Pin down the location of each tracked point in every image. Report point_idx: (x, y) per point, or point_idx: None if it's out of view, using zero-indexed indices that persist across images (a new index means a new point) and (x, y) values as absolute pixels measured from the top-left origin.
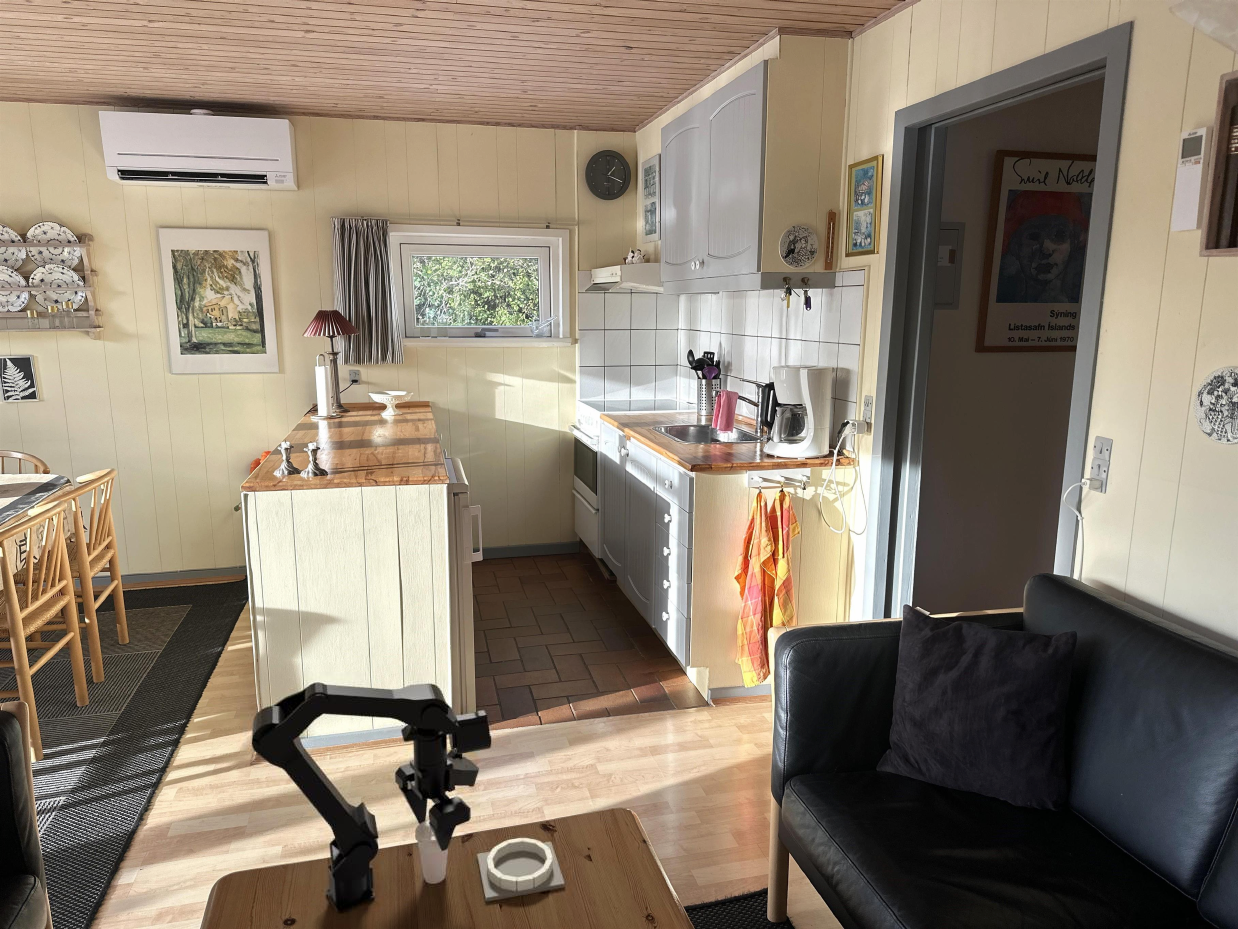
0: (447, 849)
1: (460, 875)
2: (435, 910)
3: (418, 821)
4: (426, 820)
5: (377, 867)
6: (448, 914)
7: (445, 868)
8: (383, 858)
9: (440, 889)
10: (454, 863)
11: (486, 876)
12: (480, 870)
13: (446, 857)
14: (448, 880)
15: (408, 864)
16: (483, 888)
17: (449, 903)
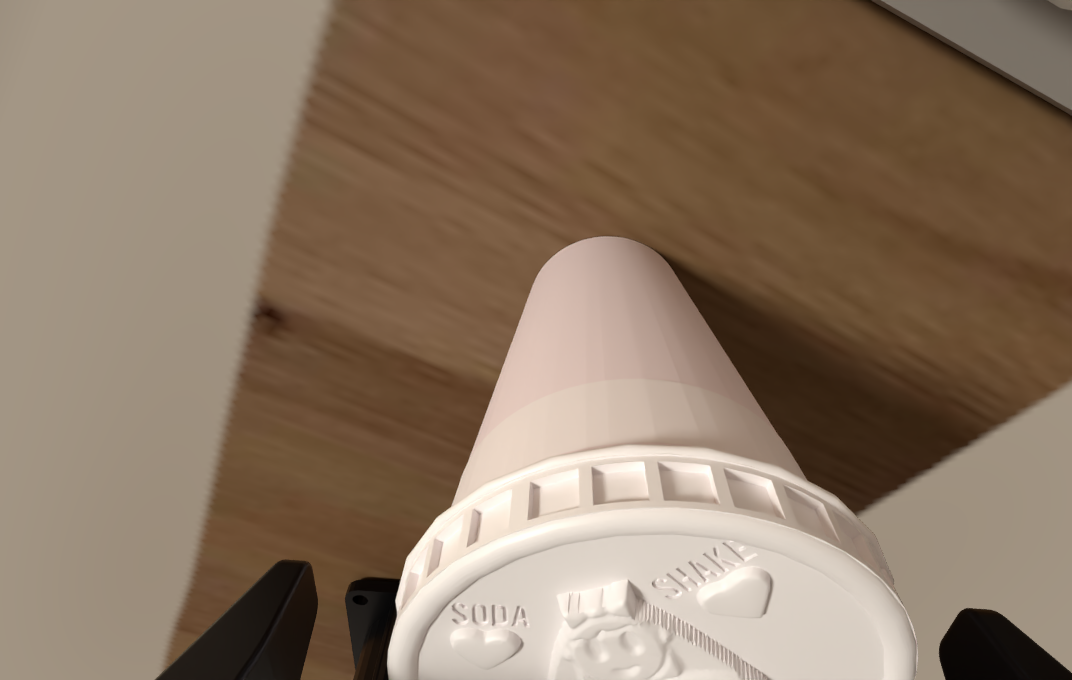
0: (756, 402)
1: (736, 154)
2: (874, 439)
3: (303, 662)
4: (394, 675)
5: (299, 497)
6: (973, 405)
7: (689, 298)
8: (231, 447)
9: (745, 337)
10: (571, 114)
11: (1011, 8)
12: (895, 7)
13: (726, 355)
14: (711, 254)
15: (371, 371)
16: (1054, 103)
17: (904, 358)
